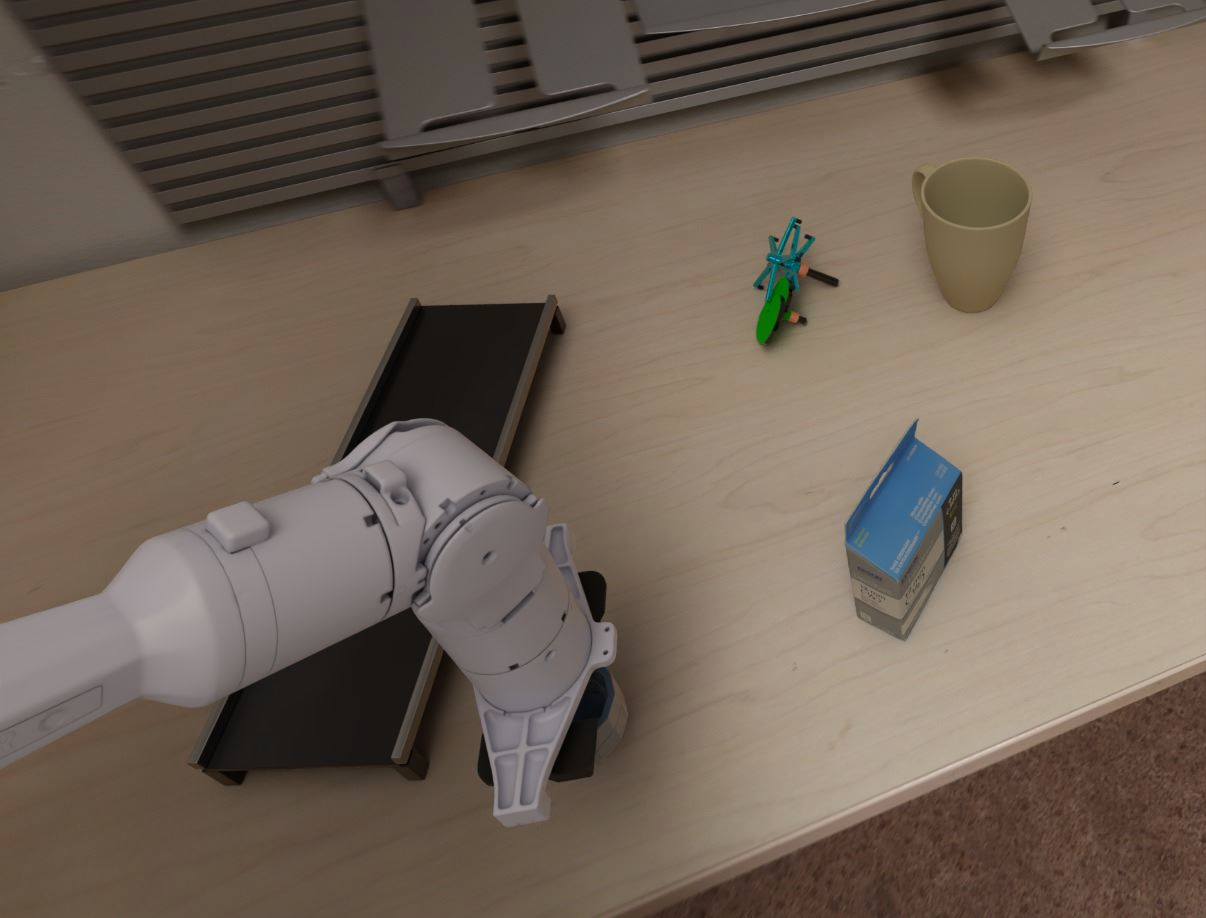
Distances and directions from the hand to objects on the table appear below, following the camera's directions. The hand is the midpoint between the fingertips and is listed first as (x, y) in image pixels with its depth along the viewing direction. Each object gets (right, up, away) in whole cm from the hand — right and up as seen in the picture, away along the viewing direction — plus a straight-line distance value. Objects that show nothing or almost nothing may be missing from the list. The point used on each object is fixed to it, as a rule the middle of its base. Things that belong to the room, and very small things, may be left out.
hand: (579, 719), depth 54 cm
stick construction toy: (+9, +22, +30) cm, 38 cm away
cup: (0, -1, +1) cm, 1 cm away
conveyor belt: (-16, +8, +15) cm, 24 cm away
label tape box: (+19, +4, +11) cm, 23 cm away
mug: (+24, +23, +31) cm, 45 cm away
